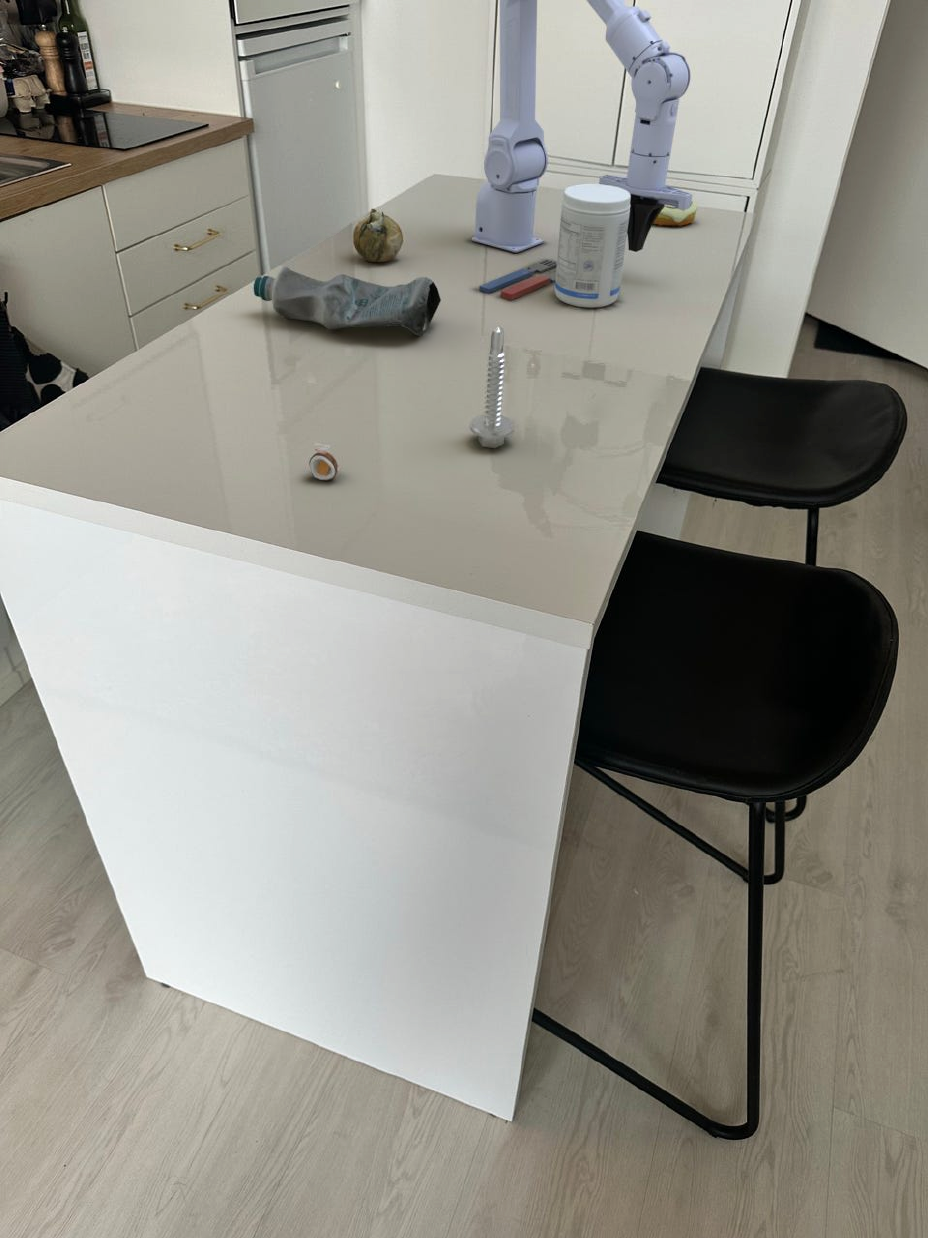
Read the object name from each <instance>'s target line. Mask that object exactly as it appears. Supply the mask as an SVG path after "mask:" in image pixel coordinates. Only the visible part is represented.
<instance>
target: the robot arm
mask: <svg viewBox="0 0 928 1238" xmlns="http://www.w3.org/2000/svg"><path fill="white" fill-rule="evenodd" d="M585 1H586V2H587V3H588V5H589V6H590V7H591V9H592V10H594V12H595V13H596V14H597V16H598V17H599V18H600V19H601V21H602V22H603V23H604V25H606V30H605V41H606V43H607V44H608V45H609V46H608V47H610V49H611V50H612V52H613V53H614V55H615V57H617V59H618V60H619V62H620V63H621V65H622V66H623V68H624V69H625V70H626V73H628V75H629V76H630V77H631V91H632V95H633V97H634V100H635V108H634V113H635V117H634V123H633V131H632V138H631V143H630V152H629V153H630V154H629V159H628V167H627V172H626V177H625V176H617V175H616V176H615V175H609V174H605V175H602V176H599V181H598V184H603V185H610V186H615V187H619V188H622V189H624V190H626V191H628V192H629V193H630V195H631V199H630V214H629V223H628V230H627V246H628V247H627V248H628V251H631V252H634V253H638V252H639V251H642V250H643V249H644V245H645V242H646V240H647V238H648V235H649V234H650V230H651V229H652V227H653V225H654V224H653V223H654V221H655V220H656V218H657V216H658V215H659V213H660V212H661V210H662V209H663V208H664V206H665V205H669V206H674V207H678V209H680V210H686V209H688V208H690V205H691V201H693V193H691V192H686V191H683V190H680V189H678V188H675V187H673V186H670V185H667V184H666V183H667V178H668V177H667V176H668V172H669V171H668V170H669V165H670V158H671V153H672V148H673V147H672V146H673V141H674V134H675V128H676V123H677V117H678V110H679V105H680V98H682V97H683V96H684V95H685V94H686V92H687V91H688V89H689V87H690V83H691V69H690V66H689V63H688V62H687V58H686V56H684V55H683V54H681V52H680V53H679V52H673V51H671V50H670V49H671V46H670V44H669V43H668V42H667V41H663V39H662V38H661V36H660V34H659V33H658V31H656V29H655V27H654V26H653V25H652V23H651V22H650V20H651V19H652V16H651V14H650V13H649V12H648V10H647V9H641V8H640V7H639V6H636V5H635V6H628V5H627V4H626V2H625V1H624V0H585ZM537 26H538V0H499V120H498V122H497V123H496V126H495V127H494V128H493V129H492V131H491V133H489V135H488V144H487V145H488V146H487V150H486V154H485V156H484V161H483V168H484V169H483V170H484V174H485V177H486V179H487V180H488V181H486V182H485V183H484V184H483V185H482V186H481V187H480V188H479V191H478V192H477V198H476V203H475V223H474V236H472V237H471V241H473V242H476V243H480V244H482V245H487V246H490V247H494V248H497V249H501V250H505V251H508V252H512V253H519V252H522V251H526V250H527V249H530V248H533V247H535V246H538V245H540V244H543V242H544V240H543V239H542V238H538V237H534V226H535V214H536V202H537V190H538V189H537V188H538V186H539V185H540V178H542V177H543V176H544V175H545V174H546V171H547V169H548V167H549V154H548V150H547V148H546V144H545V131H544V129H543V128H542V126H541V125H540V124H539V122H538V121H537V119H536V95H537V94H536V89H537V88H536V87H537V84H536V83H537V34H538V33H537V30H538V27H537Z"/></svg>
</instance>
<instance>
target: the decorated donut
mask: <svg viewBox="0 0 928 1238" xmlns="http://www.w3.org/2000/svg"><path fill="white" fill-rule="evenodd" d="M697 210H698V205H697V204H696V203H695V202H694V201H693V200H691V205H690V208H688V209H686V210H680V209H678V207H674V206H669V205H665V206H664V208H663V209H662V210H661V212H660V213H659V215H658V216H657V218H656V220H655V221H654V223H653V225H658V226H666V227H667V226H668V227H669V226H672V227H676V226H678V227H682V226H685V225H688V224H692V223H693V222H694V220H695V219H696V213H697Z"/></svg>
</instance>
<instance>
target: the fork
mask: <svg viewBox="0 0 928 1238" xmlns="http://www.w3.org/2000/svg"><path fill="white" fill-rule="evenodd" d="M555 267H557V261H556V260H555V261H553V260H549V259H548V258H547V259H544V260H542V261H539V262H537V263H534V264H532V265H530V266H527V269H525V268H520V269H518V270H516V271H513V272H511V273H508V274H505V275H503V276H500V277H498V278H495V279H493V280H491V281H488V282H485V283H483V284H481V285H479V286H478V287H479V288H478V290H479V291H480V292H484V293H487V294H491V293H494V292H496V291H499V290H501V289H503V288H505V287H508V286H510V285H514V284H515V283H518V282H520V281H522V280H525V279H527V278H530V277H531V276H532V275H533V274H536V273H538V274H542V273H545V272H547V271H549V270H551V269H555Z"/></svg>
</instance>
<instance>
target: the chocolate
mask: <svg viewBox="0 0 928 1238" xmlns="http://www.w3.org/2000/svg"><path fill="white" fill-rule="evenodd" d="M312 445H313V446H315V447H314V448H315V451H316V453H314V454H313V455H312V456H311V457H310V458H309V461H308V465H309V469H310V471H311V472H310V473H311V474H312V476H313V477H314V478H315V479H317V480H319V481H331V480H333V479H334V478H336V476H337V474H338V472H339V464H338V462H337V460H336V458H335V457H334V456H333V454H331V453H330V452H327V451H328V450H329V449H330V448H331V446H330V445H328V444H326V445H325V444H323V443H317V442H315V441H314V440H313V441H312ZM318 449H319V450H318ZM322 450H323V451H322Z"/></svg>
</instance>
